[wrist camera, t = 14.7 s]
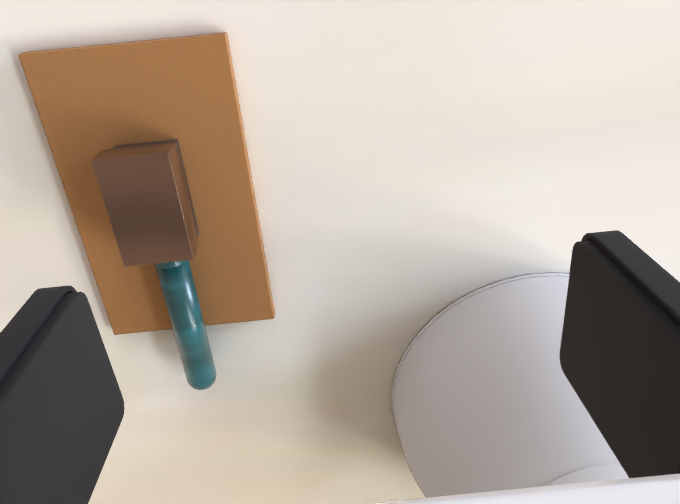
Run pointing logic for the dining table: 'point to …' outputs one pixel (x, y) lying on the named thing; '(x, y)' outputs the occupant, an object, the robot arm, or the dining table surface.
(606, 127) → the dining table surface
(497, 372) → the kettle
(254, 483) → the dining table surface
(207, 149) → the cork mat
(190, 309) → the brush
